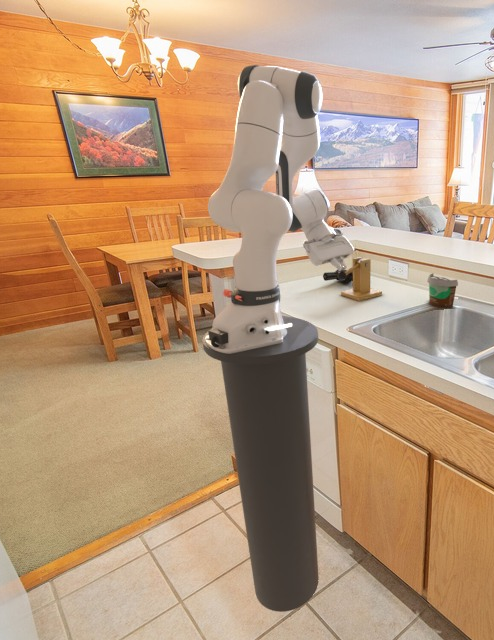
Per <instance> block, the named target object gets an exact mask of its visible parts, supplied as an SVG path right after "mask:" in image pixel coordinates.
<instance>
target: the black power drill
mask: <svg viewBox="0 0 494 640" xmlns="http://www.w3.org/2000/svg"><path fill="white" fill-rule="evenodd" d="M347 270H348V269H345V270H342V271H344V272H345V271H347ZM339 272H340V271H339V270H338V269H337V268H336V270H335V271H330V272H329V271H328V272H327V271H326V272H324V273H323V275H322V278H323V280H324V282H325V281H326V282H327V281H332V280H336V281H338V282H342V283H344V284H350V283H351V282H353V271H352V272H351V273H349V274H348V275H346V279H345V280H340V279H339V278H338V273H339Z"/></svg>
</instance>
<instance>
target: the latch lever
mask: <svg viewBox="0 0 494 640" xmlns="http://www.w3.org/2000/svg"><path fill="white" fill-rule="evenodd" d="M364 259H365V258H363V259H360V260H364ZM360 260H358V261H357V265H355V266H353V265H352V267H350V268H349V269H346V270H347V271H345V272H344V271H340V272H339V273H338V278H339V279H340V280H345V279H346V275H348V274H349V273H351V272H352V271H354V270H356V269H357V268H360Z"/></svg>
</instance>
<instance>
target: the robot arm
mask: <svg viewBox="0 0 494 640" xmlns="http://www.w3.org/2000/svg"><path fill="white" fill-rule="evenodd" d="M322 88H323V87H322V84H321V82H320V81H319V79H318V78H317V76H316V75H314V74H313V73H311V72H308V71H305V70H302V71H299V70H295V69H292V68H291V69H290V68H285V67H281V66H277V65H259V64H251V65H247V66H244V68H243V69H242V70H241V72H240V73H239V75H238V80H237V92H238V96H239V98H240V101H239V104H238V110H237V115H236V122H235V131H234V139H233V146H232V153H231V157H230V162H229V165H228V167H227V170H226V173H225V176H224V178H223V179H222V182H221V184H220V185H219V187H218V188H217V189H216V190H215V191H214V192H213V193H212V194H211V195H210V197H209V199H208V202H207V211H208V212H207V213H208V215H209V217H210V219H211V221H212V222H213V223H214V224H216V225H217V226H218V227H220V228H222V229H223V230H224V229H225V230H226V231H228V232H232V233H240V234H241V244H240V249H239V251H238V252H236V253H235V254H234V256H233V258H232V266H233V267H232V268H233V274H234V283H235V286H234V289H233V290H230V289H228V288H225V289H224V290H223V291H222V296H224V297H226V298H230V302H229V304H227V306H225V308H224V309H222V311H220V312H219V314H217V315H216V316H215V317H214V319H213V321H212V327H211V330H210V329H209V330H207V332H208V333H209V335H208V336H206V337H205V344H206V345H207V346H208V347H210V348H211V349H213V350H215V351H217V352H221V353H226V354H231V353H236V352H241V351H246V350H251V349H255V348H260V347H265V346H270V345H274V344H279V343H282V342H283V338H284V337H285V336H286V335H287V330H286V327H291V326H292V323H290V324H285V325H284V321H283V318H282V316H283V314H282V310H281V309H282V308H281V290H280V285H279V284H278V272H277V254H278V249H279V246H280V242H281V240H282V238H283V237H284V235H285V234H287V233H288V232H292V233H295V232H297V231H299V230H301V231H302V232H303V233H304V235H305V238H306V240H304V242H303V244H302V245H303V246H302V247H303V248H304V250H305V253H306V255H307V257H308V259H309V260H310V262H311V264H312V265H313V266H315V267H318V266H321V265H325V264H328V263H330V265H332V266H333V267H335V268H336V270H337V269H338V270H339V271H342V270H347V265H346V263H345V259H349V258H351V257H352V256H353V255H354V253H355V248H354V246H353V245H352V243H351V242H350V240H349V239H348V238H347V237H346V236H345V235H344V232H343V230H342V229H340V228H335V227H332V226H329V224H327V222H325V220H324V219H325V218H326V217H327V215H328V213H329V210H330V206H331V203H330V201H329V198H328V197H327V196H326V194H325V193H324V192H323V191H322V190H320V189H318V188H313V189H309V190H307V191H304V192H303V193H302V192H301V194H298V195H296V196H294V179H295V176H296V175H297V173H298V172H299V171H300V169H302V167H303V166H305V165H306V164H307V163H308V162H309V161H311V160H312V159H313V158H314V157H315V156H316V154H317V153H318V151H319V149H320V146H321V130H320V124H319V117H318V116H319V115H318V114H320V111H321V110H322V105H323V89H322ZM273 175H275V188H276V193H274V192H272V191H270V190H269V191H268V190H264V188H265V185H266V184H267V182H268V181H269V179H270V178H272V176H273Z"/></svg>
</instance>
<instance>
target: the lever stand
mask: <svg viewBox="0 0 494 640" xmlns="http://www.w3.org/2000/svg"><path fill="white" fill-rule="evenodd" d="M360 259H364V260H360ZM358 260H360V268H357V269H356V270H354V271H353V281H352V288H351V289H346V290H342V291H340V295H341V296H342V297H345V298H348V299H351V300H354V301H357V302H361V301H364V300H368V299H373V298H375V297H379V296H382V295H383V291H382V290H378V289H375V288H373V287H372V288H371V271H372V270H371V268H372V266H371V264H372V261H371V260H372V259H371V258H364V257H363V256H359V257H353V258H352V267H353V266H355V265H357V261H358Z"/></svg>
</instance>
